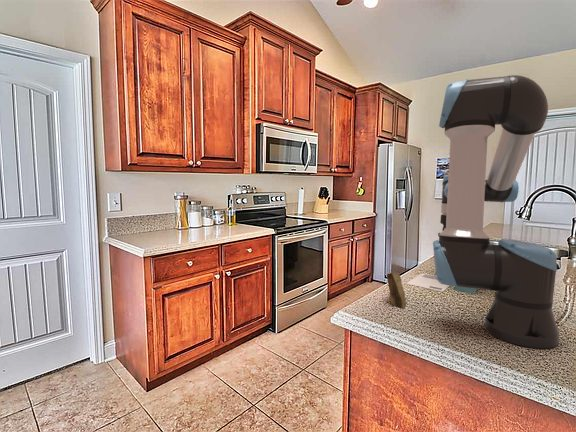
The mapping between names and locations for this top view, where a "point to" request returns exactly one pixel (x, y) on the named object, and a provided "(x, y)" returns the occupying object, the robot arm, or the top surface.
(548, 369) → the top surface
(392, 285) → the rock
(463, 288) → the teal cube
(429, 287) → the letter
